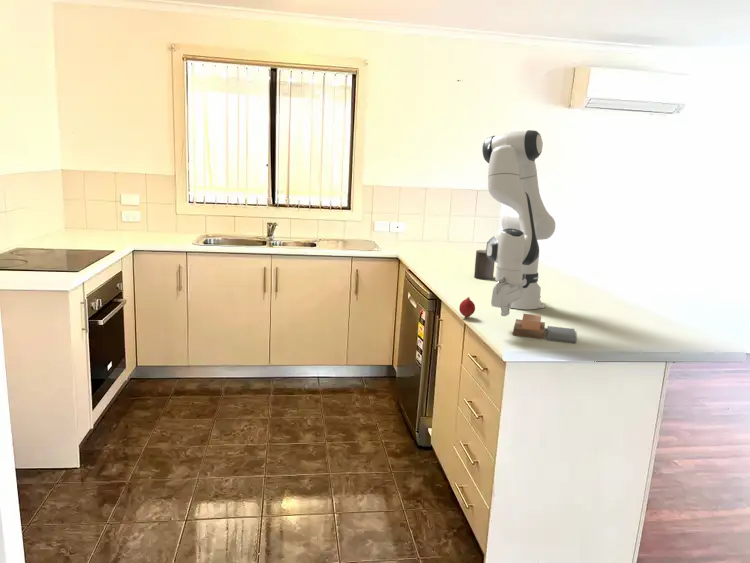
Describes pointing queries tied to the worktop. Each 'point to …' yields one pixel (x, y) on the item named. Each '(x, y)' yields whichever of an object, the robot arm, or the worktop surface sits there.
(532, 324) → the orange rectangular block
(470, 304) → the onion
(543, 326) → the board
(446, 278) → the worktop surface
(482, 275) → the pillar candle
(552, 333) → the mat
